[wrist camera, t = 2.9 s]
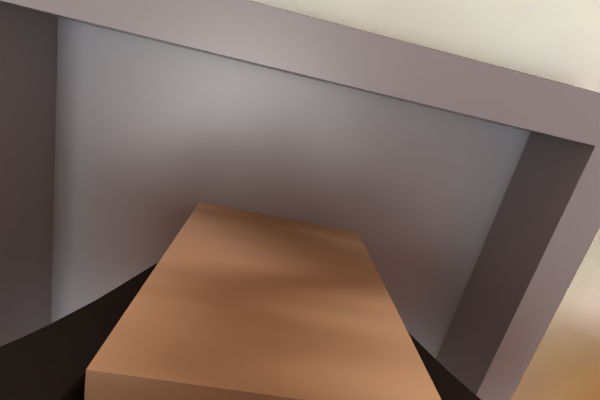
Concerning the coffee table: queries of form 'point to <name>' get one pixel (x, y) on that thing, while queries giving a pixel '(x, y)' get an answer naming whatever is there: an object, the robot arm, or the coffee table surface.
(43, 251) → the parts bin
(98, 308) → the robot arm
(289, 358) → the maple block
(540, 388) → the coffee table surface
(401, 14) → the coffee table surface
